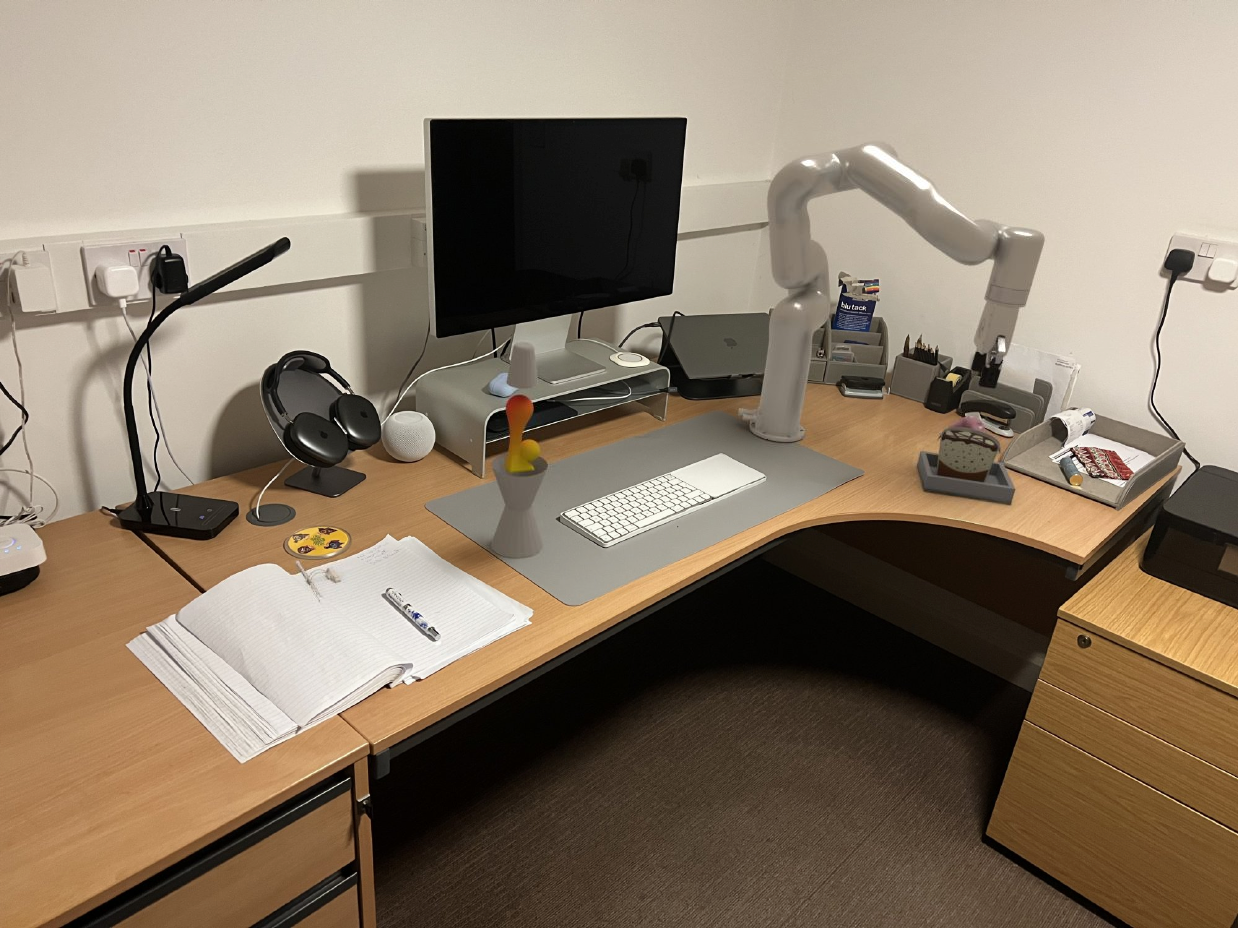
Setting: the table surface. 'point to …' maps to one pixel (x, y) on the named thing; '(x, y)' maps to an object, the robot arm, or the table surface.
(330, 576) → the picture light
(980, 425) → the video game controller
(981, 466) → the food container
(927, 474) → the desk holder
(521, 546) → the lava lamp
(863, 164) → the robot arm
